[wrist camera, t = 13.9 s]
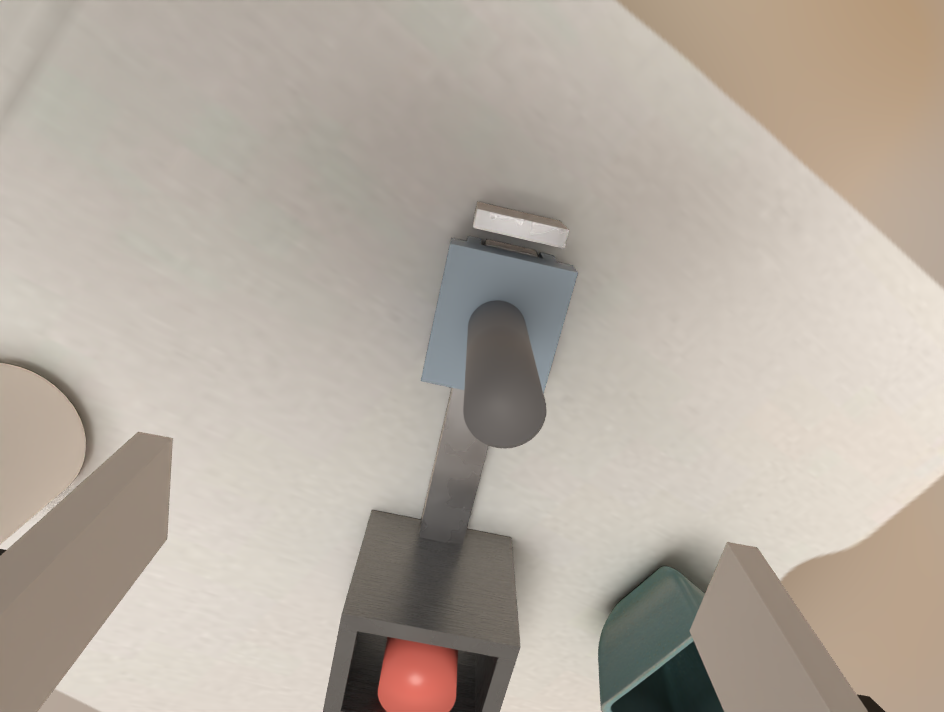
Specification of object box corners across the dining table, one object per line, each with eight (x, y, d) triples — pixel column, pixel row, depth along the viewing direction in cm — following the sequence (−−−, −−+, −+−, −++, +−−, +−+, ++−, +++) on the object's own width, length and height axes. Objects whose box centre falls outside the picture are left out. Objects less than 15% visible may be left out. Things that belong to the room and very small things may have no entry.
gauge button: (396, 593, 39) (385, 657, 34) (465, 606, 39) (463, 671, 34) (384, 648, 40) (371, 715, 36) (450, 660, 41) (447, 729, 36)
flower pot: (575, 606, 46) (597, 712, 37) (663, 530, 44) (708, 624, 35) (657, 668, 48) (695, 782, 39) (746, 598, 46) (807, 704, 37)
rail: (477, 201, 36) (477, 208, 33) (560, 220, 37) (569, 230, 33) (407, 516, 44) (400, 552, 40) (476, 530, 44) (476, 567, 40)
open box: (371, 509, 43) (342, 613, 34) (514, 538, 44) (523, 647, 35) (353, 600, 46) (321, 720, 37) (488, 626, 47) (490, 750, 37)
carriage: (452, 232, 37) (436, 292, 23) (568, 258, 37) (623, 333, 23) (426, 357, 39) (396, 481, 25) (534, 380, 40) (564, 515, 26)
